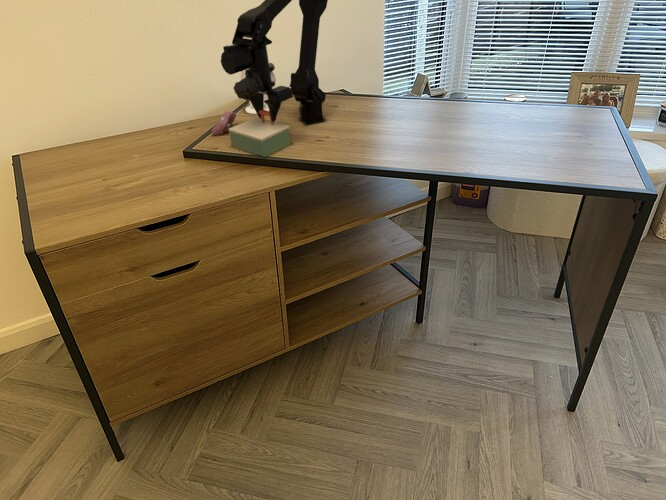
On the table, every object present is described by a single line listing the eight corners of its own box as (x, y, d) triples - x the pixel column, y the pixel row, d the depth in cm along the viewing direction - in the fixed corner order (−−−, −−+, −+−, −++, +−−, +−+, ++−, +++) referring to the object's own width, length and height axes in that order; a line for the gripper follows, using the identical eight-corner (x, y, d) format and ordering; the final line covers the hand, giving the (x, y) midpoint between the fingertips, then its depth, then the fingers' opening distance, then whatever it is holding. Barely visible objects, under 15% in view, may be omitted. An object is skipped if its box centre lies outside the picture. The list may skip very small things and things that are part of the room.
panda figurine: (283, 103, 171) (277, 59, 163) (273, 114, 163) (266, 68, 154) (252, 103, 174) (244, 60, 165) (240, 114, 165) (232, 69, 156)
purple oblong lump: (223, 140, 151) (228, 121, 147) (210, 134, 150) (215, 115, 146) (234, 128, 159) (240, 110, 154) (222, 122, 158) (227, 104, 154)
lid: (257, 119, 147) (254, 104, 144) (290, 128, 139) (288, 112, 136) (228, 131, 140) (225, 116, 138) (261, 141, 132) (259, 125, 129)
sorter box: (257, 134, 149) (255, 119, 146) (290, 144, 141) (288, 128, 138) (232, 146, 143) (228, 131, 140) (264, 157, 135) (261, 141, 132)
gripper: (214, 68, 132) (225, 122, 141) (259, 77, 121) (269, 135, 130) (244, 58, 138) (254, 111, 147) (290, 65, 128) (297, 122, 137)
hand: (267, 119), depth 140 cm, fingers closed on lid, 5 cm apart
